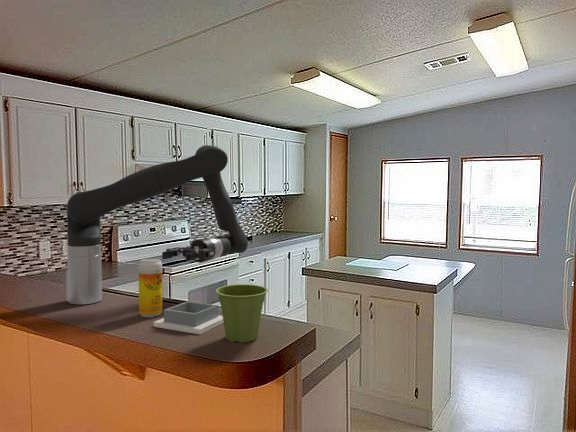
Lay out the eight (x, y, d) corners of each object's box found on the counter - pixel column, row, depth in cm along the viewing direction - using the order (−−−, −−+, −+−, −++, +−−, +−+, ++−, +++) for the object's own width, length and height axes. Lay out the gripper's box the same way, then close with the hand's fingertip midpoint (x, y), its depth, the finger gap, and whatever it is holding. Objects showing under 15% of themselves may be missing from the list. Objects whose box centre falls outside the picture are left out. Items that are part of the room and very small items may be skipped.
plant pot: (204, 340, 99) (204, 290, 99) (239, 327, 109) (239, 282, 109) (244, 350, 93) (245, 298, 92) (277, 336, 102) (278, 288, 102)
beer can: (155, 318, 116) (155, 262, 115) (134, 317, 117) (134, 261, 116) (166, 312, 122) (166, 258, 121) (146, 311, 123) (145, 258, 122)
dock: (153, 326, 109) (153, 309, 109) (184, 314, 120) (183, 299, 120) (200, 334, 103) (200, 316, 103) (227, 321, 114) (227, 305, 114)
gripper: (188, 237, 146) (155, 242, 132) (224, 238, 141) (194, 244, 126) (189, 259, 147) (155, 267, 132) (225, 261, 141) (195, 270, 126)
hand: (174, 256), depth 129 cm, fingers open, 8 cm apart
